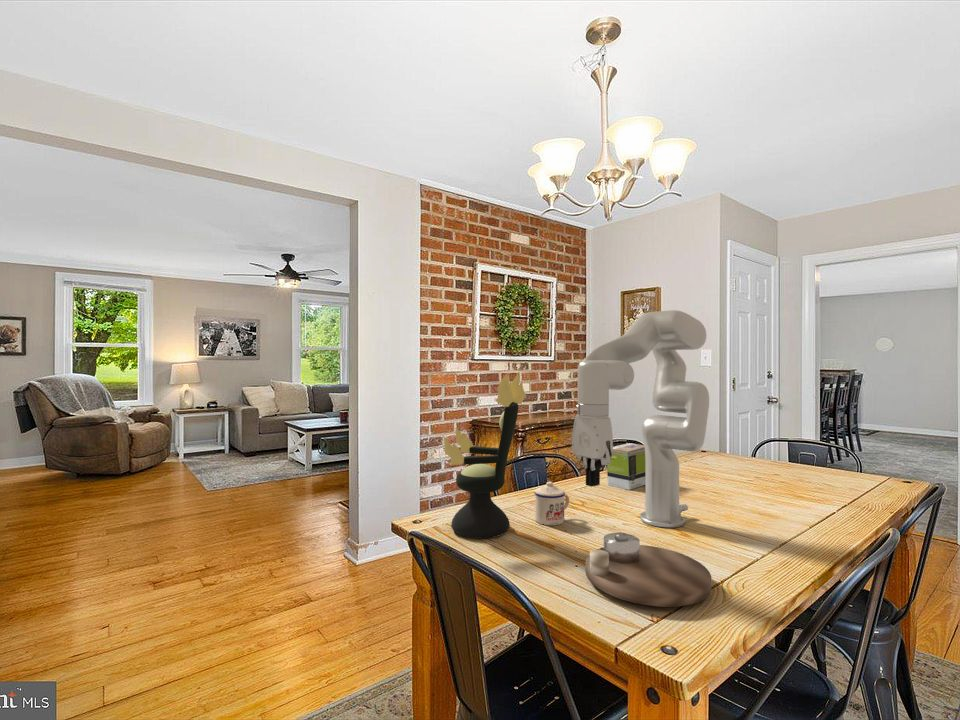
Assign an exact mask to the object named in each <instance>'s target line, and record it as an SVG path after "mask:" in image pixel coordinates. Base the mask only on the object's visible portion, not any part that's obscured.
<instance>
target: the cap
mask: <svg viewBox="0 0 960 720" xmlns="http://www.w3.org/2000/svg"><path fill="white" fill-rule="evenodd" d="M640 545H641V543H640V539H639V538H638V537H637V536H635V535H632V534H629V533H626V532H611V533H610V532H609V533H606V534H605V535H604V536H603V547H604V551H606V552H608V553H609V560H610V561H613V562H617V563H625V564H628V563H635V562H637V561H639V559H640Z"/></svg>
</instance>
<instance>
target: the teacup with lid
mask: <svg viewBox="0 0 960 720" xmlns="http://www.w3.org/2000/svg"><path fill="white" fill-rule="evenodd" d="M534 494H535V499H534V502H535V505H534V507H535V511H534V512H535V518H534V519H535V521H536V523H538V524H540V525H543V524H544V526H559V525H561V524H563V523H564V522H565V511H566V510H567V508H568V507H569V504H570V496H569V495H568V494H566V493H565V491H564V489H563V488H560V487H558V486H556V485H554V483H553V481H547V482H546V484H544V485H543V486H541V487H537V488H536V489H535V490H534Z"/></svg>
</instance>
